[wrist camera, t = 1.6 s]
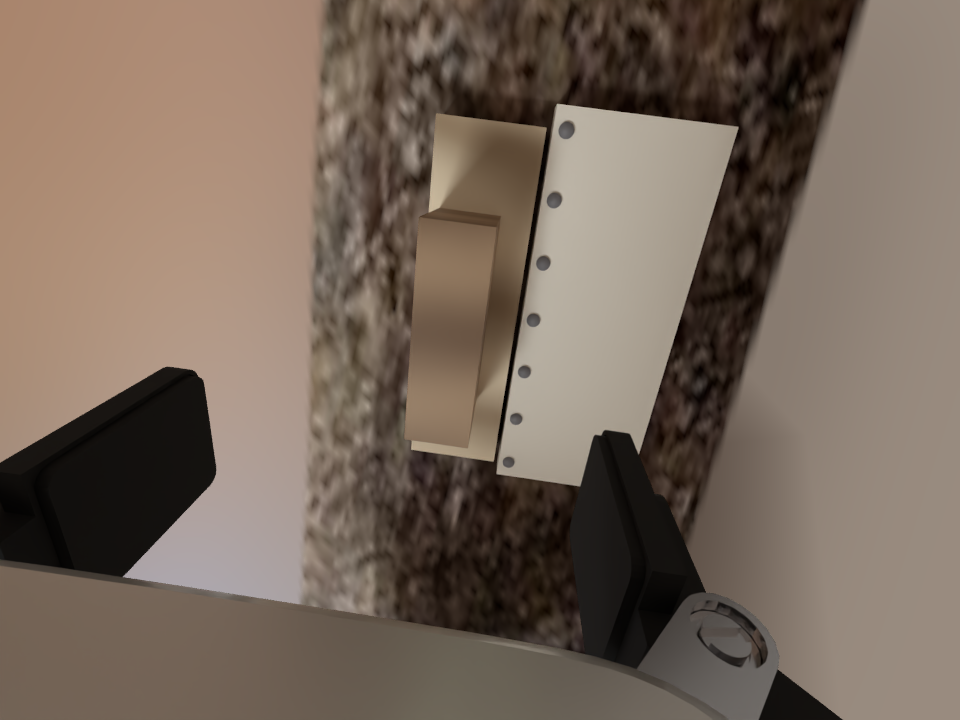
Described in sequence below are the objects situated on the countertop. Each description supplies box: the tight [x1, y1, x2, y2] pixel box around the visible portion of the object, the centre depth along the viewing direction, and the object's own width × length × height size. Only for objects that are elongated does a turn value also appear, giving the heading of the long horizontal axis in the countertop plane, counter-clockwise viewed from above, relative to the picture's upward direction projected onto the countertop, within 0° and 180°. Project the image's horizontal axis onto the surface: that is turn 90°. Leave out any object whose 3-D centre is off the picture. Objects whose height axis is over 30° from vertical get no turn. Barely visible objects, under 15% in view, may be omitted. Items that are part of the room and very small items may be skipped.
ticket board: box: [497, 104, 739, 486], centre depth 25 cm, size 20×8×2 cm, turn 173°
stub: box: [404, 113, 547, 462], centre depth 22 cm, size 18×5×6 cm, turn 173°
